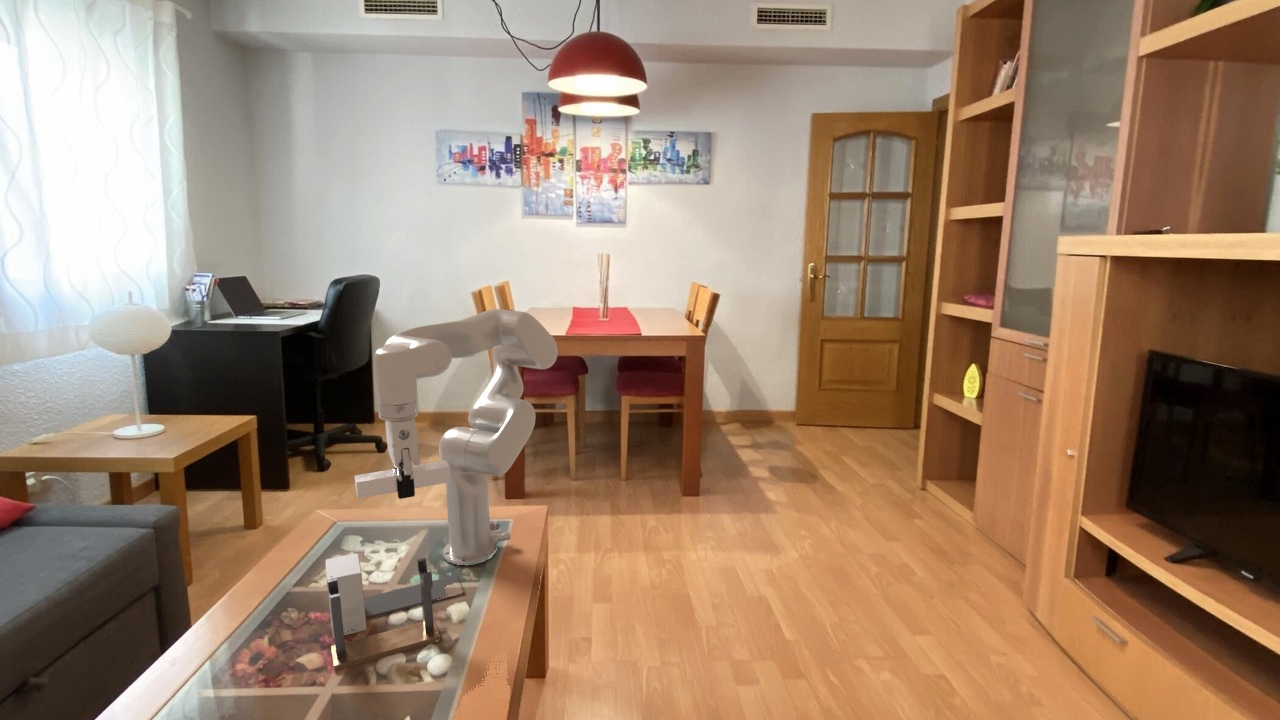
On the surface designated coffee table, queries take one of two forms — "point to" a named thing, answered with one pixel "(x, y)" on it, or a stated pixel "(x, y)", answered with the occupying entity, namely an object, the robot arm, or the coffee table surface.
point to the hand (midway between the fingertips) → (404, 492)
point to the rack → (385, 641)
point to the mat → (403, 598)
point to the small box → (348, 591)
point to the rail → (388, 479)
